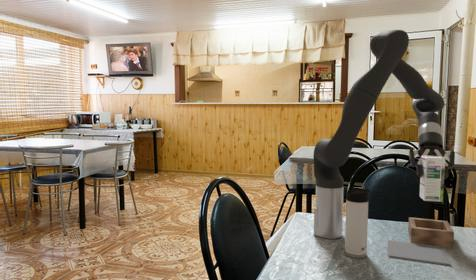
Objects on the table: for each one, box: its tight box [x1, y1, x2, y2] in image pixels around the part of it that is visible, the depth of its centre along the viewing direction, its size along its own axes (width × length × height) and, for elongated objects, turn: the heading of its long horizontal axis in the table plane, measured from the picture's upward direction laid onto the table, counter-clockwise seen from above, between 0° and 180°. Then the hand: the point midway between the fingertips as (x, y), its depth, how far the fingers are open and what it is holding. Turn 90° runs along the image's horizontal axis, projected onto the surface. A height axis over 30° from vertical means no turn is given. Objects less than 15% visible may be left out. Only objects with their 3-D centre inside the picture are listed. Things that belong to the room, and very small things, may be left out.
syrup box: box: [419, 156, 446, 203], centre depth 118 cm, size 6×6×14 cm
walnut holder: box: [407, 216, 455, 249], centre depth 119 cm, size 12×12×5 cm
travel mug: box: [344, 188, 371, 259], centre depth 106 cm, size 6×7×20 cm
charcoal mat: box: [387, 239, 452, 267], centre depth 108 cm, size 16×13×1 cm
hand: (432, 176), depth 116 cm, fingers closed on syrup box, 6 cm apart
